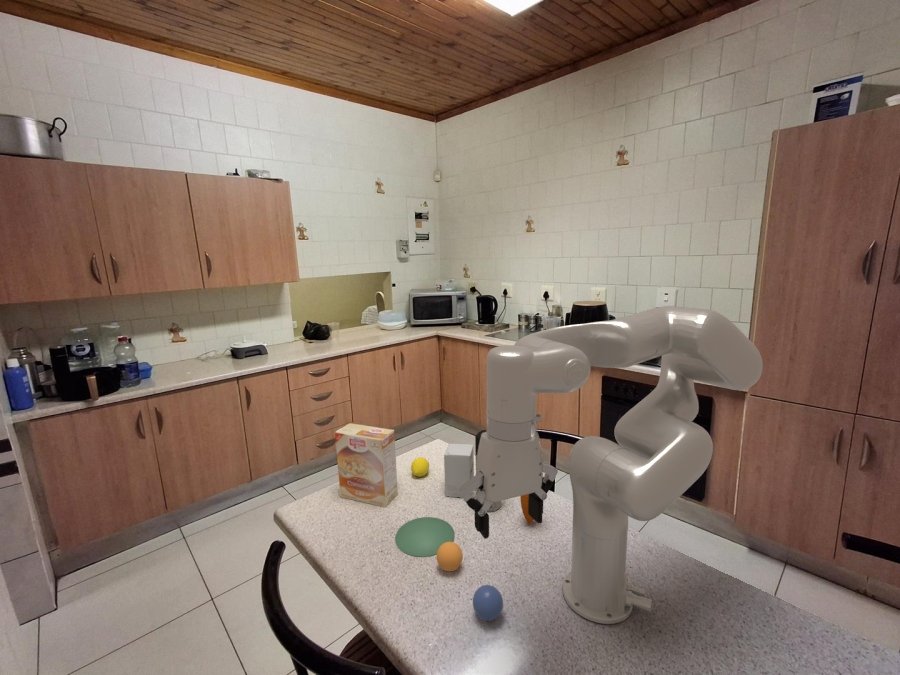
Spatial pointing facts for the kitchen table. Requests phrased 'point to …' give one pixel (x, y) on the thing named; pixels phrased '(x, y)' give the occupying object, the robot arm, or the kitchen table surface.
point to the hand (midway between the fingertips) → (509, 525)
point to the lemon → (420, 466)
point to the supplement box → (458, 467)
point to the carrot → (526, 508)
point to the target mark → (423, 536)
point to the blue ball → (487, 602)
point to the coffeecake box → (367, 464)
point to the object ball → (449, 556)
